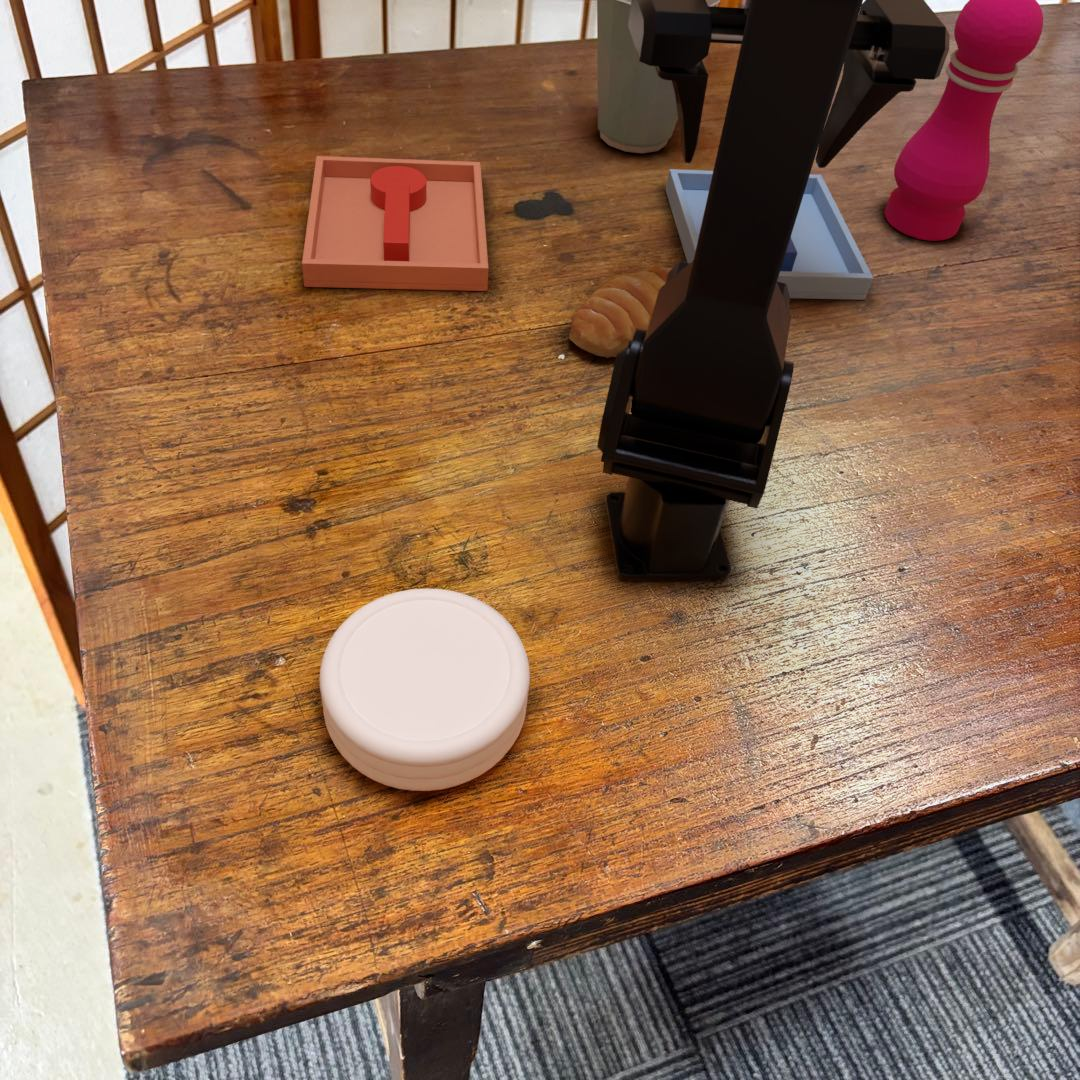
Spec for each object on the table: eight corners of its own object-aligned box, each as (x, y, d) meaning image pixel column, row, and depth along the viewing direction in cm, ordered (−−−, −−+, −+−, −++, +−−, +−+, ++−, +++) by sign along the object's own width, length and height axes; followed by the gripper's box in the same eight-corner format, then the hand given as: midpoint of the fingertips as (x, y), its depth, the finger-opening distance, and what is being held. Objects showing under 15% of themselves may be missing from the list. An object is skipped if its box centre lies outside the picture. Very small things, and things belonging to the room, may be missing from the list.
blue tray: (865, 300, 78) (873, 277, 76) (697, 296, 76) (702, 273, 75) (814, 195, 88) (821, 174, 86) (665, 190, 86) (669, 168, 85)
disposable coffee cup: (560, 148, 90) (579, -36, 79) (594, 99, 97) (616, -77, 86) (677, 176, 88) (712, -8, 77) (702, 124, 95) (739, -52, 84)
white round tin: (472, 600, 56) (474, 558, 53) (561, 745, 50) (568, 707, 47) (295, 665, 52) (288, 623, 49) (369, 829, 46) (366, 792, 44)
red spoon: (427, 272, 75) (426, 243, 73) (366, 270, 74) (364, 241, 73) (426, 184, 83) (426, 157, 81) (371, 182, 83) (370, 154, 81)
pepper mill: (930, 254, 83) (1039, -6, 68) (861, 213, 87) (950, -42, 72) (980, 228, 86) (1094, -24, 72) (911, 190, 90) (1007, -58, 75)
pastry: (607, 380, 69) (615, 334, 66) (545, 330, 72) (549, 284, 69) (704, 334, 73) (715, 289, 70) (641, 288, 77) (649, 244, 74)
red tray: (487, 291, 75) (488, 267, 73) (304, 287, 73) (301, 263, 72) (479, 184, 85) (480, 161, 83) (318, 178, 83) (316, 155, 82)
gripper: (931, -135, 63) (853, 111, 75) (635, -156, 61) (602, 100, 72) (999, -71, 56) (900, 191, 67) (665, -93, 54) (622, 181, 65)
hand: (753, 162), depth 68 cm, fingers open, 9 cm apart
